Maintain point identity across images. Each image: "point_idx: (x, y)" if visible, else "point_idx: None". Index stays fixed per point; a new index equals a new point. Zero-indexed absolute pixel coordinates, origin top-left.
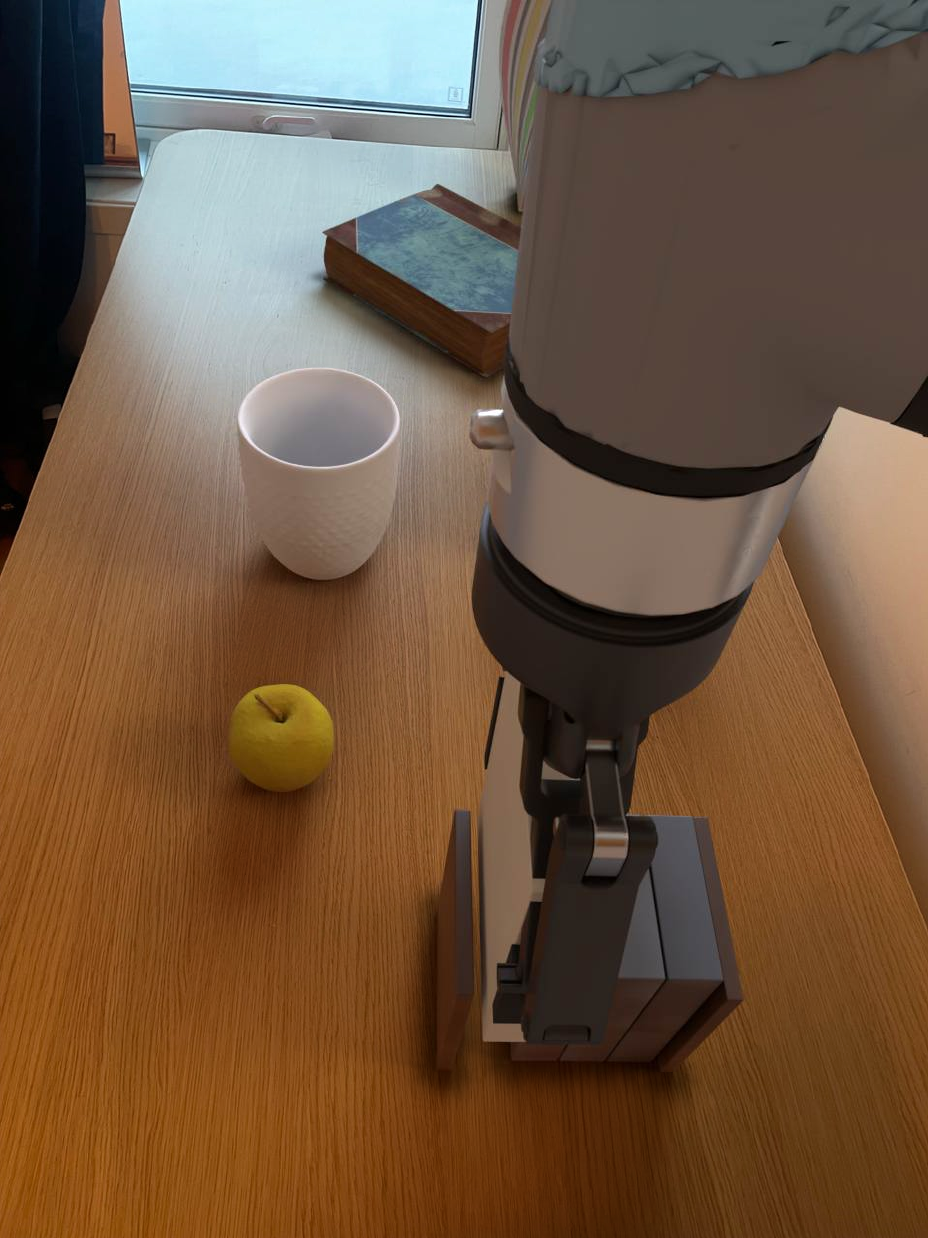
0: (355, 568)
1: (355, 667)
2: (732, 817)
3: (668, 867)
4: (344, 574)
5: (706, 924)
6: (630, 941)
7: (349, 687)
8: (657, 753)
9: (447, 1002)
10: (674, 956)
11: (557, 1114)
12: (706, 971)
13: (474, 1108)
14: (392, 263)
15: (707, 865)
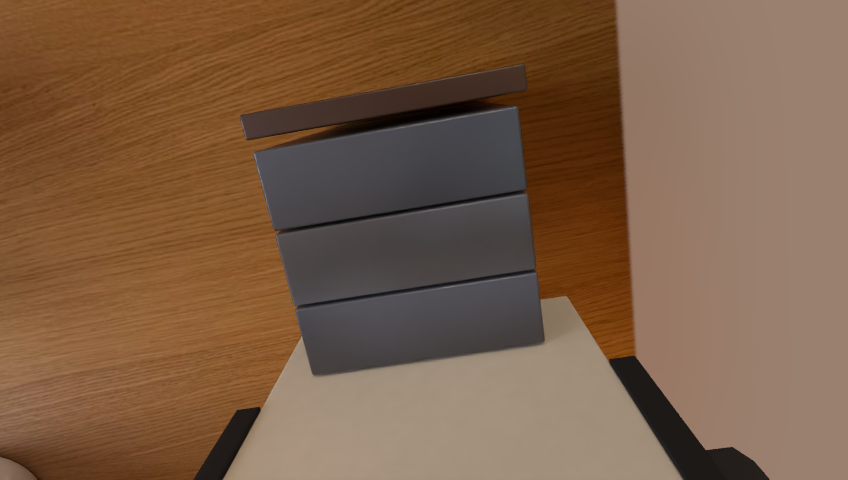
0: (10, 471)
1: (136, 434)
2: (173, 3)
3: (353, 191)
4: (24, 476)
5: (433, 131)
6: (480, 244)
7: (162, 434)
8: (117, 103)
9: None
10: (492, 181)
11: (536, 189)
12: (507, 132)
13: (540, 261)
14: None
15: (324, 118)
